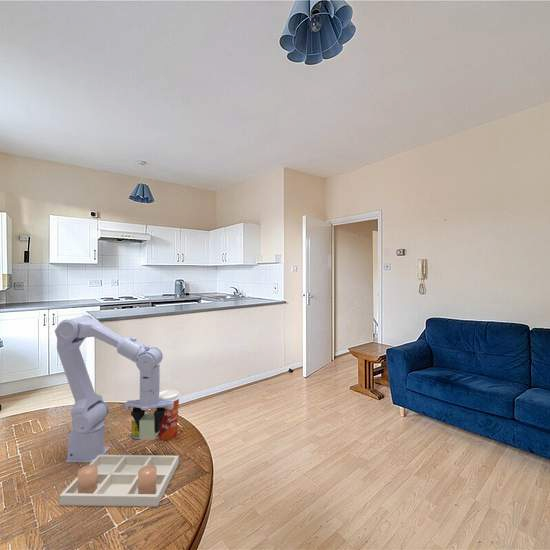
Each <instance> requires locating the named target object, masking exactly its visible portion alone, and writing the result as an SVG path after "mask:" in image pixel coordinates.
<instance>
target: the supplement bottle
mask: <svg viewBox="0 0 550 550" xmlns="http://www.w3.org/2000/svg"><path fill="white" fill-rule="evenodd" d="M146 413H147V410H145V414H146ZM145 414H144V415H145ZM131 437H132V438H133V439H135V440H138V439H139V430H138V427H137V424H136V422H135V420H134V418H133V417H132V416H131Z"/></svg>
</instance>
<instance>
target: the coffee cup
mask: <svg viewBox="0 0 550 550" xmlns="http://www.w3.org/2000/svg"><path fill="white" fill-rule="evenodd" d="M180 397H181V395H180V392H179V391H178V390H177V389H176V390H175V389H166V390H162V391H159V399H163V400H168V401H174V407H173V409H172V410H169V409H166V411H165V413H164V416H163V418H162V421H161V425H160V430H159V433H158V438H160V439H159V440H162V441H170V440H172V439H174V438H175V437H176V436H177V433H178V421H179V420H178V417H179V403H180Z"/></svg>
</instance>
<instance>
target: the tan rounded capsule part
mask: <svg viewBox="0 0 550 550" xmlns="http://www.w3.org/2000/svg"><path fill="white" fill-rule="evenodd" d="M156 479H157V468H156V466H154V465H147V466H144V467H142V468H141V469H140V470H139V471H138V494H156Z"/></svg>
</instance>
